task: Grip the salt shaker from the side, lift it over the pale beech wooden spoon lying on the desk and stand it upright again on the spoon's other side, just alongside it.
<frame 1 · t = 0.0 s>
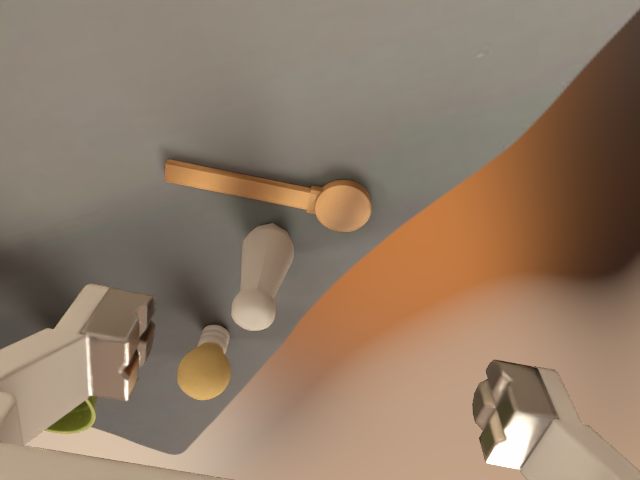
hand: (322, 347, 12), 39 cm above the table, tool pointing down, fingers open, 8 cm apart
plant pot: (86, 335, 73), on the table
salt shaker: (271, 236, 60), on the table
light bulb: (217, 330, 70), on the table
wooden spoon: (270, 188, 56), on the table
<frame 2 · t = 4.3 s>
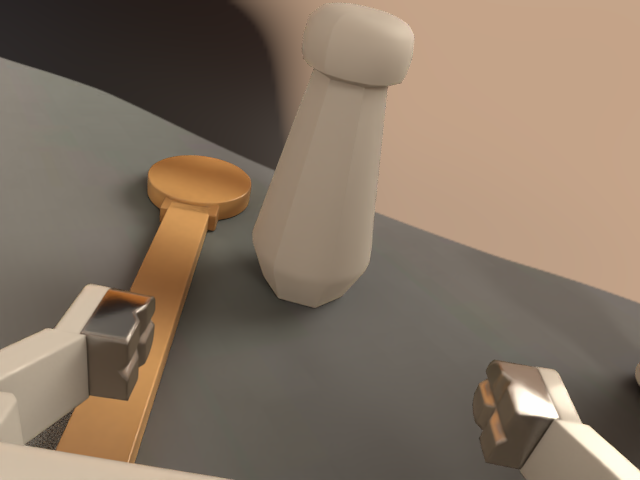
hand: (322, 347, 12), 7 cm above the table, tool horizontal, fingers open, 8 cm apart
salt shaker: (303, 283, 27), on the table
wooden spoon: (169, 273, 25), on the table
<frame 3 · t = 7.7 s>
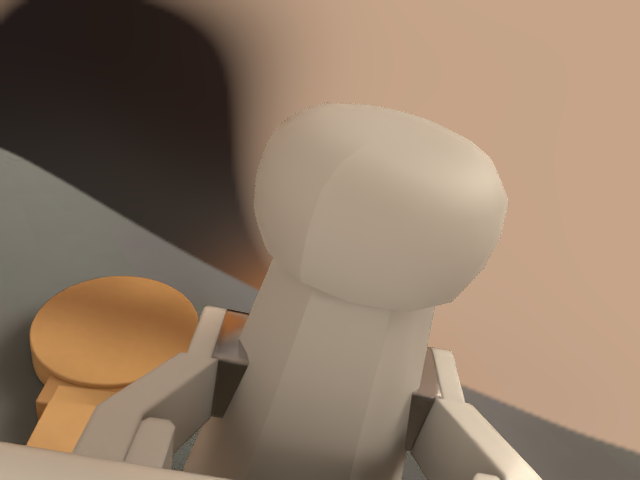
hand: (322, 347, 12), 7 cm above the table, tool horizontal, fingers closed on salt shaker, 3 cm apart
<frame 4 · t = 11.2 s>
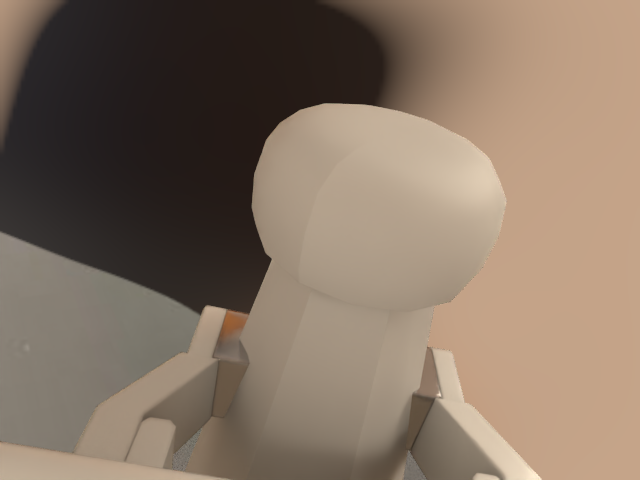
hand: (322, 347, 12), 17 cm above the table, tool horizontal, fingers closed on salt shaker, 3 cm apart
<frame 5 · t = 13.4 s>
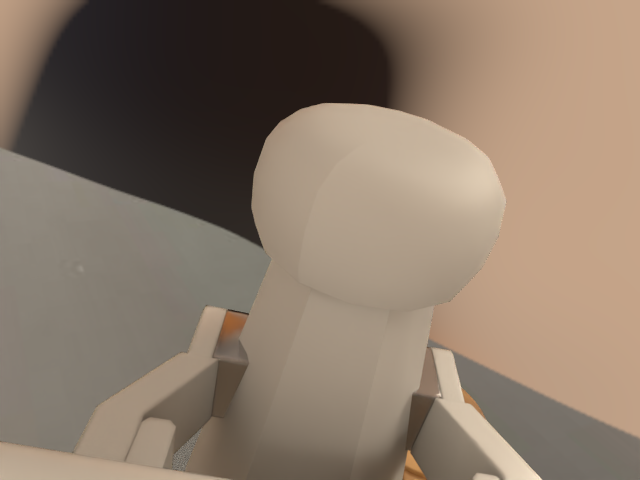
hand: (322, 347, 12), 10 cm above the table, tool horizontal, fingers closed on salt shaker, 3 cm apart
when the fingers open (7 cm above the table, at t = 14.7 s): salt shaker stays where it is, on the table.
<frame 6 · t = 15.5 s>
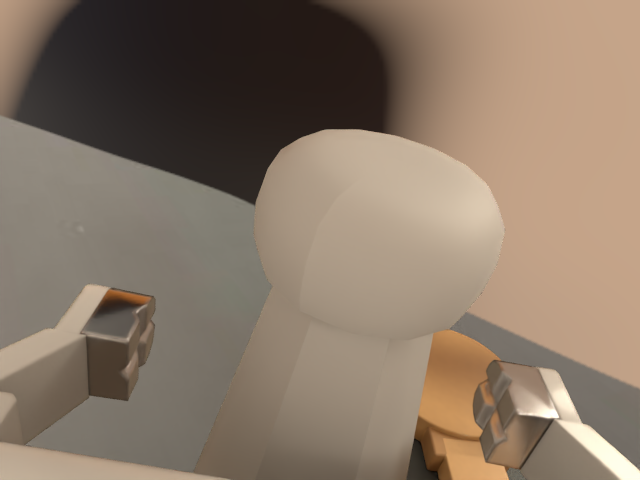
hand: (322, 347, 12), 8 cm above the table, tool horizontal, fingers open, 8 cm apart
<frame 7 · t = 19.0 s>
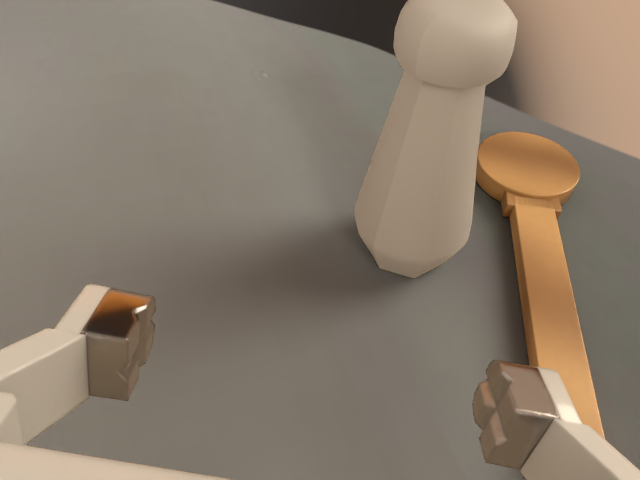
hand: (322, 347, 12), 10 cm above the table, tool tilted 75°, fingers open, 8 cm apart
salt shaker: (404, 249, 28), on the table
wooden spoon: (538, 277, 27), on the table
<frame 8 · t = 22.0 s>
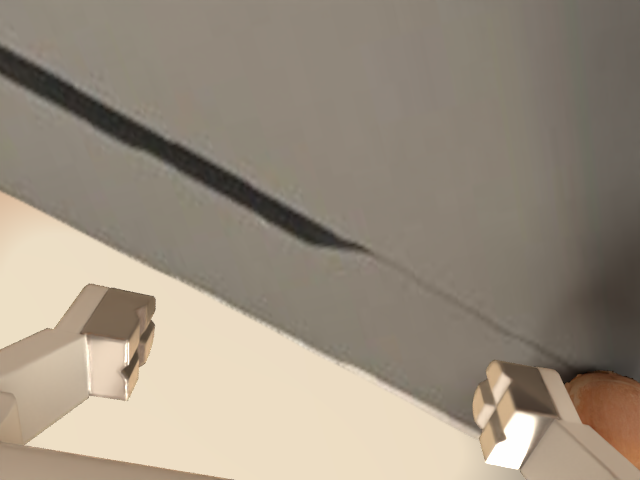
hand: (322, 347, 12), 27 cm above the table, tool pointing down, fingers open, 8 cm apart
onion: (589, 385, 50), on the table
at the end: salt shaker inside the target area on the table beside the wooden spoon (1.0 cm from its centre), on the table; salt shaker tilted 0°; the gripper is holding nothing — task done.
